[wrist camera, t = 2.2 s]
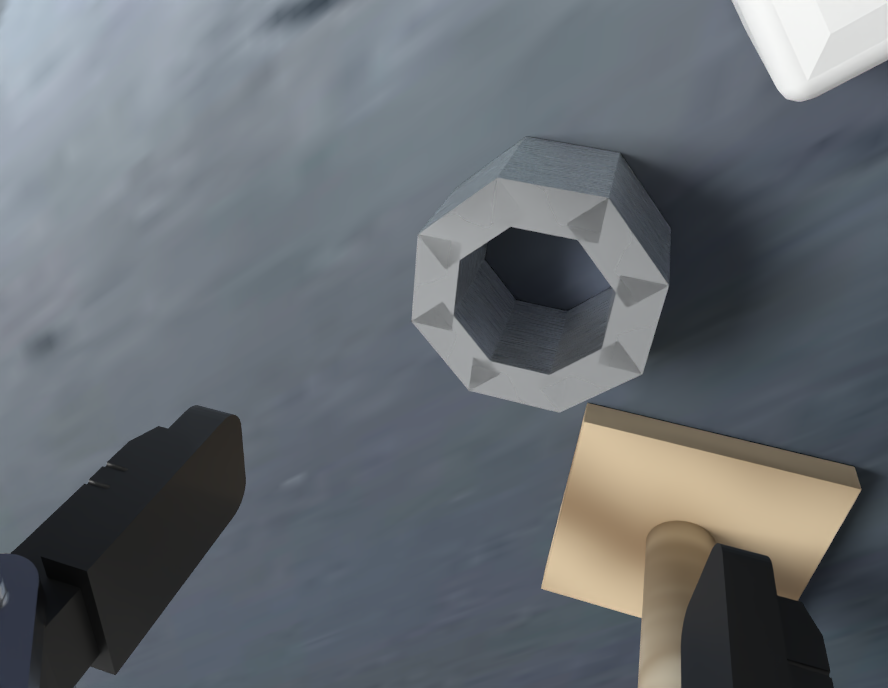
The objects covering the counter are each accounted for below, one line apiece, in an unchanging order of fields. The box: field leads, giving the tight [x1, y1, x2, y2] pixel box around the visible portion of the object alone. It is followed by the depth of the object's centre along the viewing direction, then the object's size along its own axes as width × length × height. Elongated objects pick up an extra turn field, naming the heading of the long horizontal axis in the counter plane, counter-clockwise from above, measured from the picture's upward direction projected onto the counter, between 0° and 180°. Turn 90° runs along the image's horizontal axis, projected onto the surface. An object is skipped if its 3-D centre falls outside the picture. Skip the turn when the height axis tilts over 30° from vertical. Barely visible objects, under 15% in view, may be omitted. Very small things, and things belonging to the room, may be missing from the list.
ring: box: [412, 137, 671, 413], centre depth 19 cm, size 6×6×4 cm
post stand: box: [541, 403, 862, 688], centre depth 19 cm, size 8×8×12 cm
